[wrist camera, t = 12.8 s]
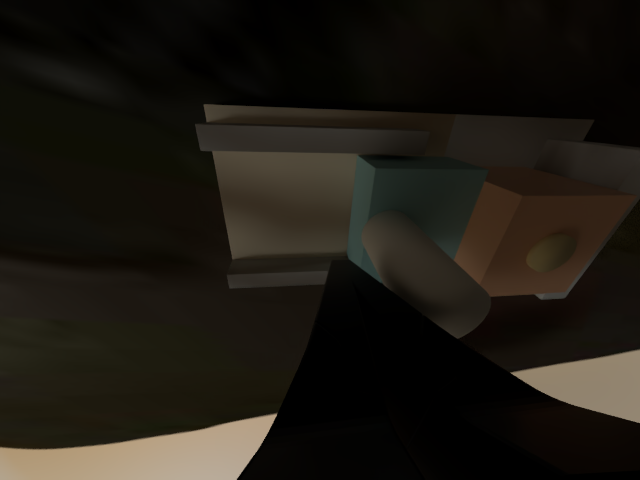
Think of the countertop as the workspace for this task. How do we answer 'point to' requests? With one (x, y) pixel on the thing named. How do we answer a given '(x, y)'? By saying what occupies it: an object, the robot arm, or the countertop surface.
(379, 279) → the ram
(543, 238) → the box
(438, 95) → the countertop surface
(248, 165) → the frame
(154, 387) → the countertop surface
